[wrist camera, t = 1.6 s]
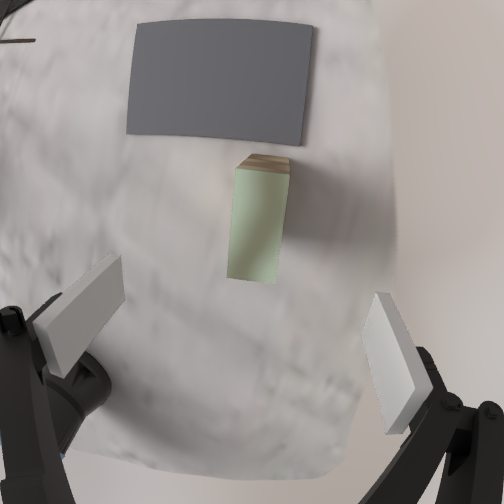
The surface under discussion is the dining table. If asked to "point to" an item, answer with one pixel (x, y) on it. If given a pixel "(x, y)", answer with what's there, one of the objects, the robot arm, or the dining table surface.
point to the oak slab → (258, 218)
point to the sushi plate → (2, 3)
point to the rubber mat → (220, 79)
